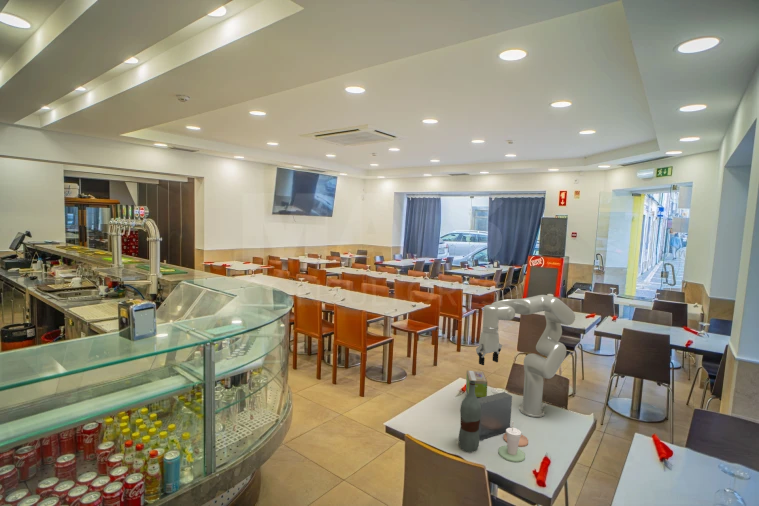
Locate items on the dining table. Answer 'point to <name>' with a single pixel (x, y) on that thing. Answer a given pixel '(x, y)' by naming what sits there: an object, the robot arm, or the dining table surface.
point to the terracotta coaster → (522, 441)
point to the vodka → (470, 421)
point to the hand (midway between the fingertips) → (488, 363)
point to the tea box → (477, 383)
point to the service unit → (494, 415)
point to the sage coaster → (513, 458)
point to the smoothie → (513, 439)
